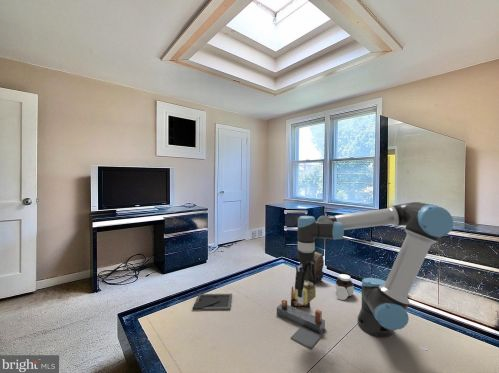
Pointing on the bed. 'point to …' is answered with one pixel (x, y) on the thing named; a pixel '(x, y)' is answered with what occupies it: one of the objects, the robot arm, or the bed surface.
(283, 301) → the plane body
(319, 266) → the brown rock
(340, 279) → the spread jar
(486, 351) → the bed surface
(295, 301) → the ammunition clip
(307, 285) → the lever cap
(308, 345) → the felt mat
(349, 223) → the robot arm
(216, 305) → the picture frame
